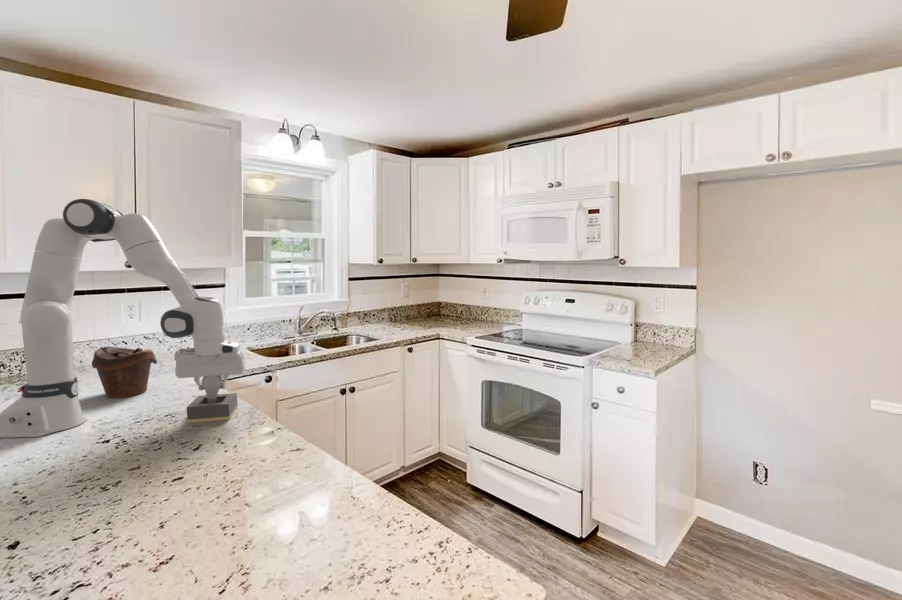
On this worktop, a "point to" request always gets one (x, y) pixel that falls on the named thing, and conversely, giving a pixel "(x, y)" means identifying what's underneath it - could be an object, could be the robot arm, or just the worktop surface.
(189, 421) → the socket block
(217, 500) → the worktop surface
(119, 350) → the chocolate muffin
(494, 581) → the worktop surface
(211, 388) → the lightbulb
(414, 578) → the worktop surface
